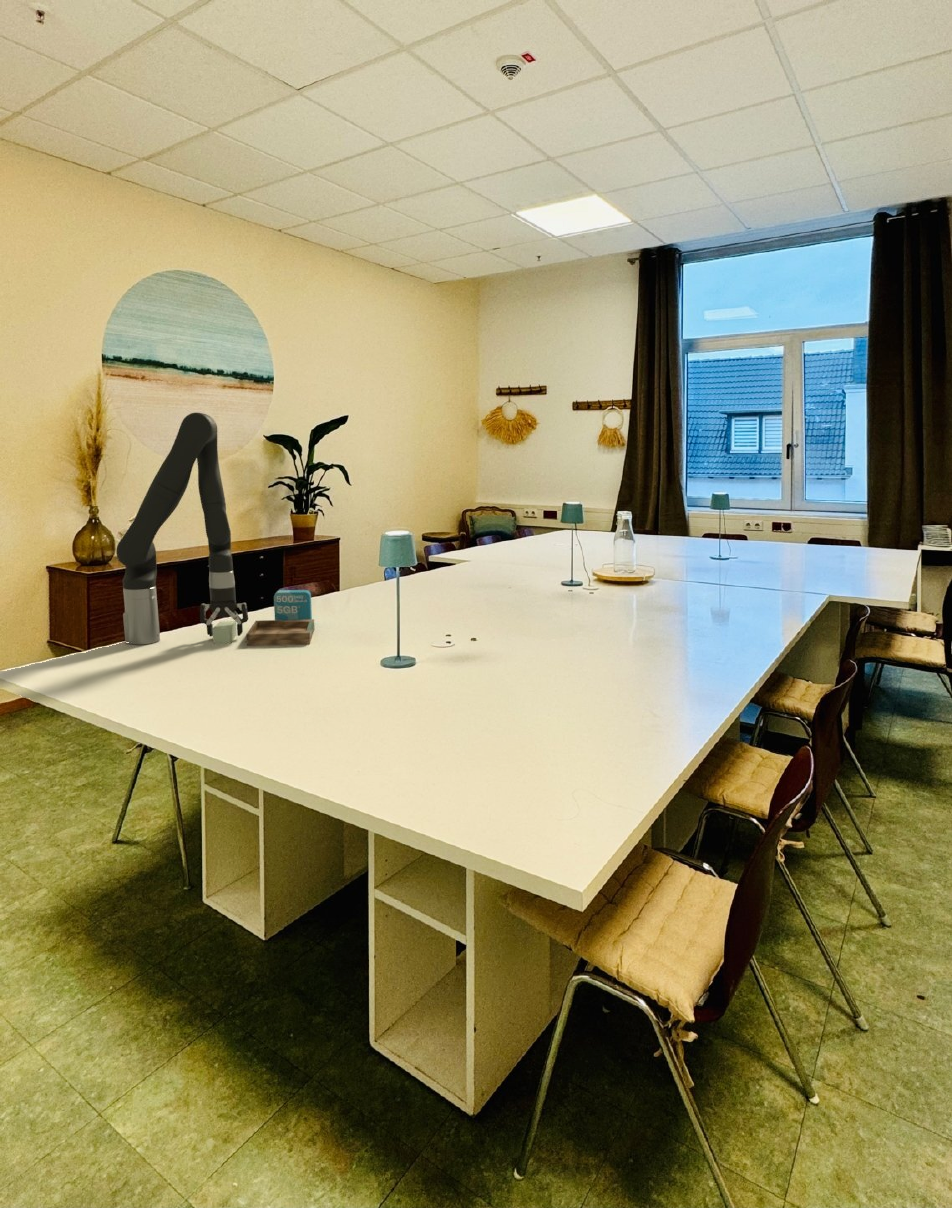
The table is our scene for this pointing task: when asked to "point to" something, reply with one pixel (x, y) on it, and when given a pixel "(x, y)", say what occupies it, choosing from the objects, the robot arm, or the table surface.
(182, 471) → the robot arm
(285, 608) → the data package
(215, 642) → the panel block
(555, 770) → the table surface
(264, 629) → the shallow wooden tray
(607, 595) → the table surface
